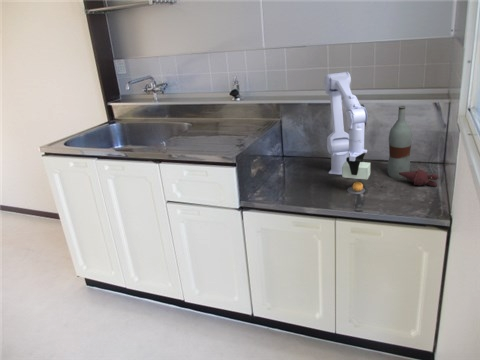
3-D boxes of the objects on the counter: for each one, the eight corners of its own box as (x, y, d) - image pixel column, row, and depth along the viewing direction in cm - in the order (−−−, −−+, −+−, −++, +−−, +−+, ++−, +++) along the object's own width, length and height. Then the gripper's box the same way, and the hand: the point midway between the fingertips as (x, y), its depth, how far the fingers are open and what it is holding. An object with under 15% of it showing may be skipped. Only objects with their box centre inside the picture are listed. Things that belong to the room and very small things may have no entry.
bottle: (413, 178, 168) (418, 107, 156) (391, 180, 168) (394, 110, 156) (405, 169, 176) (409, 102, 165) (384, 171, 177) (386, 105, 165)
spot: (349, 186, 167) (349, 185, 167) (366, 187, 164) (366, 187, 164) (345, 193, 161) (345, 192, 161) (362, 195, 158) (363, 194, 158)
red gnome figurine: (396, 171, 160) (436, 180, 152) (402, 161, 165) (441, 169, 157) (395, 184, 164) (434, 194, 156) (401, 174, 169) (439, 182, 161)
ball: (366, 186, 162) (357, 190, 164) (360, 178, 162) (352, 182, 164) (363, 190, 159) (355, 194, 161) (357, 182, 158) (349, 186, 161)
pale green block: (345, 171, 164) (345, 161, 163) (370, 173, 160) (370, 162, 158) (342, 177, 160) (342, 166, 158) (367, 179, 155) (367, 168, 153)
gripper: (363, 145, 146) (362, 179, 152) (371, 133, 158) (370, 165, 163) (343, 144, 150) (344, 177, 155) (352, 133, 161) (352, 164, 166)
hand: (356, 171), depth 159 cm, fingers closed on pale green block, 6 cm apart
